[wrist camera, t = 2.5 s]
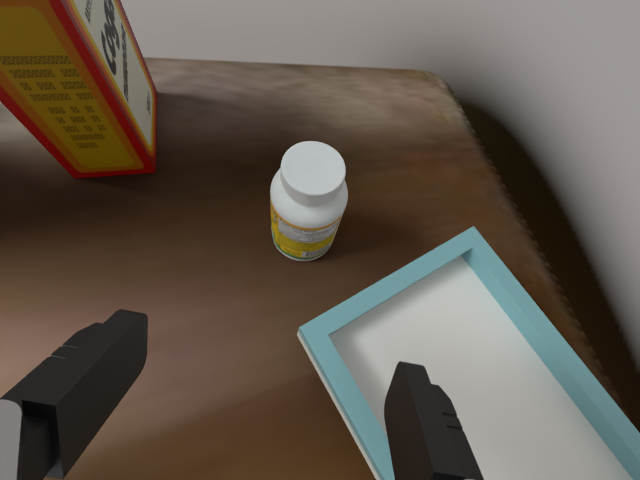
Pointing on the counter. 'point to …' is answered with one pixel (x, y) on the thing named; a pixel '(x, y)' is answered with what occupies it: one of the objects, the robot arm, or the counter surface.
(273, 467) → the counter surface
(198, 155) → the counter surface
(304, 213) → the supplement bottle
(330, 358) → the shallow teal tray
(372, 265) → the counter surface
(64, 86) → the baking soda box
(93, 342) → the robot arm
